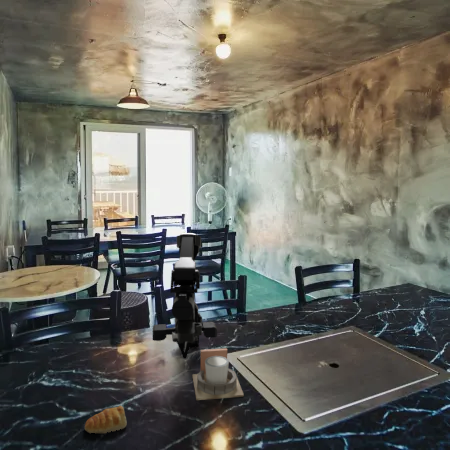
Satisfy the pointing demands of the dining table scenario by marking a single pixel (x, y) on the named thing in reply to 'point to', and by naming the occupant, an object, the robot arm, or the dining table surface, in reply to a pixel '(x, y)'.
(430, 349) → the dining table surface
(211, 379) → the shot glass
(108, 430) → the pastry
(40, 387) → the dining table surface
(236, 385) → the dock
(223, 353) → the block
